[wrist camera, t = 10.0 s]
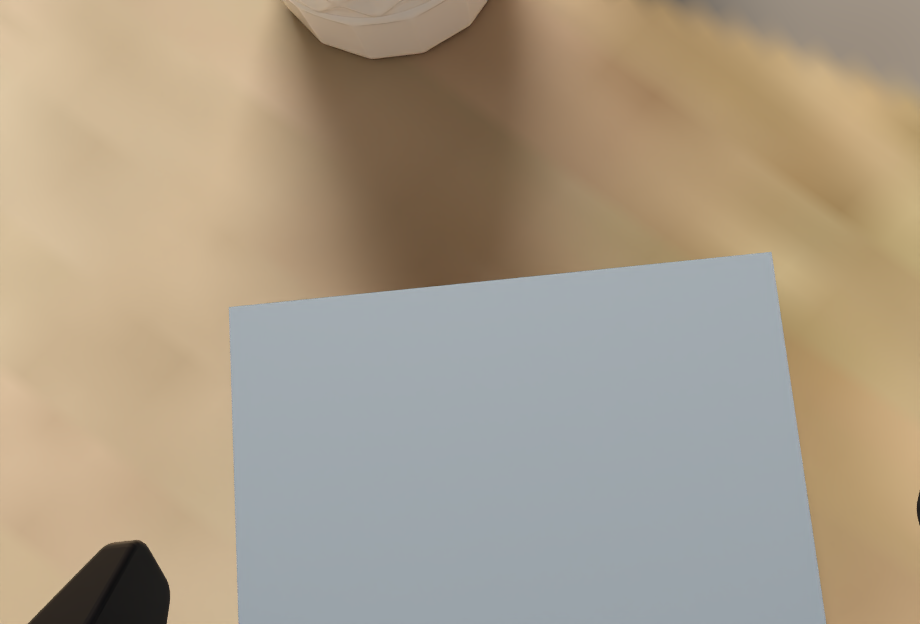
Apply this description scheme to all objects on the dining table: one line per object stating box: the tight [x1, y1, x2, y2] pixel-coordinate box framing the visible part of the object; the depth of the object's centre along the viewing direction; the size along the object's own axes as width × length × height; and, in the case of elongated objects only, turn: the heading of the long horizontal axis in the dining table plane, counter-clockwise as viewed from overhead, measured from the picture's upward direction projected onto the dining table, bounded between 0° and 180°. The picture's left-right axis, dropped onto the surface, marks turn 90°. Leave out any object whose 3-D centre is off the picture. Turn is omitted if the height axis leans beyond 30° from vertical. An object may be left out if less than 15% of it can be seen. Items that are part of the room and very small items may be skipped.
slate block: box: [229, 252, 826, 624], centre depth 13 cm, size 6×6×9 cm
